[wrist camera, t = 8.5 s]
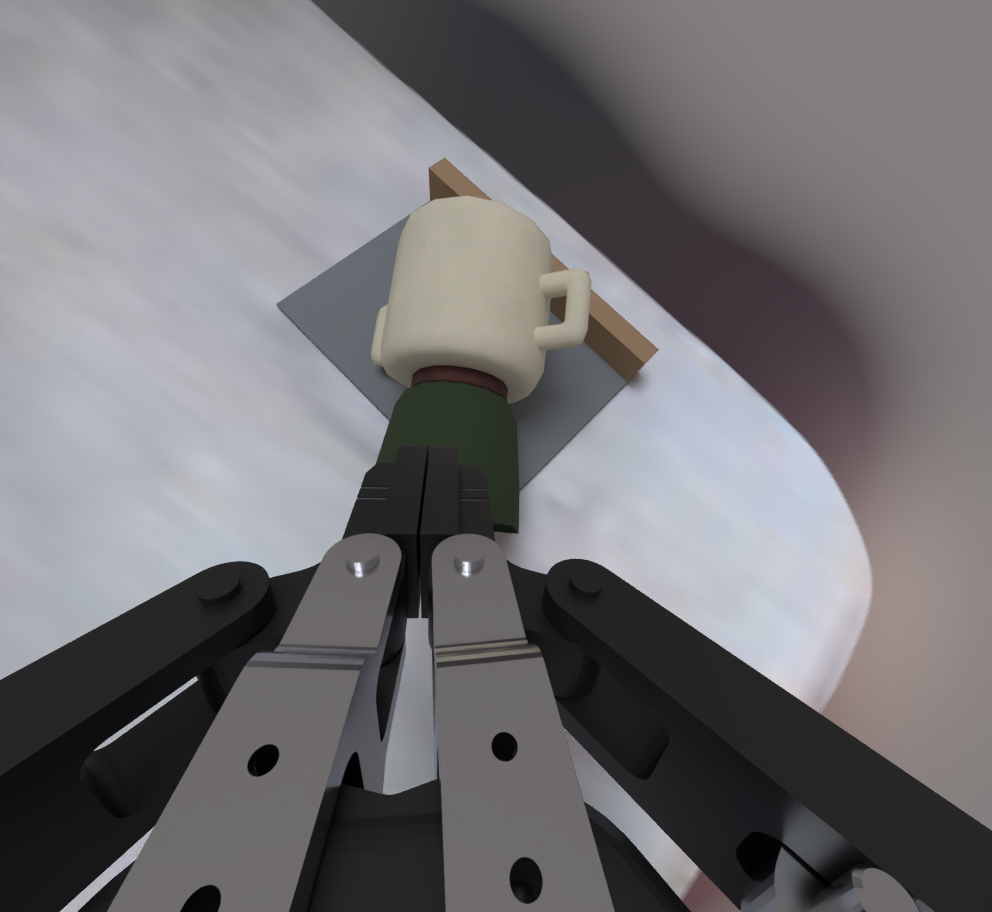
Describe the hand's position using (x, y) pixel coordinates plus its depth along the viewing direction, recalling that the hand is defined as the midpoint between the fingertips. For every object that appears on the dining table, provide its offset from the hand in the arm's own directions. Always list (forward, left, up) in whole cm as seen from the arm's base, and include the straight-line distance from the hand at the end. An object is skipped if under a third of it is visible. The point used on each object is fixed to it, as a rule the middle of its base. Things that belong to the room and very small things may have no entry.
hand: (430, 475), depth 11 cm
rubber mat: (+7, +6, -9) cm, 13 cm away
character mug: (-1, -1, -6) cm, 6 cm away
